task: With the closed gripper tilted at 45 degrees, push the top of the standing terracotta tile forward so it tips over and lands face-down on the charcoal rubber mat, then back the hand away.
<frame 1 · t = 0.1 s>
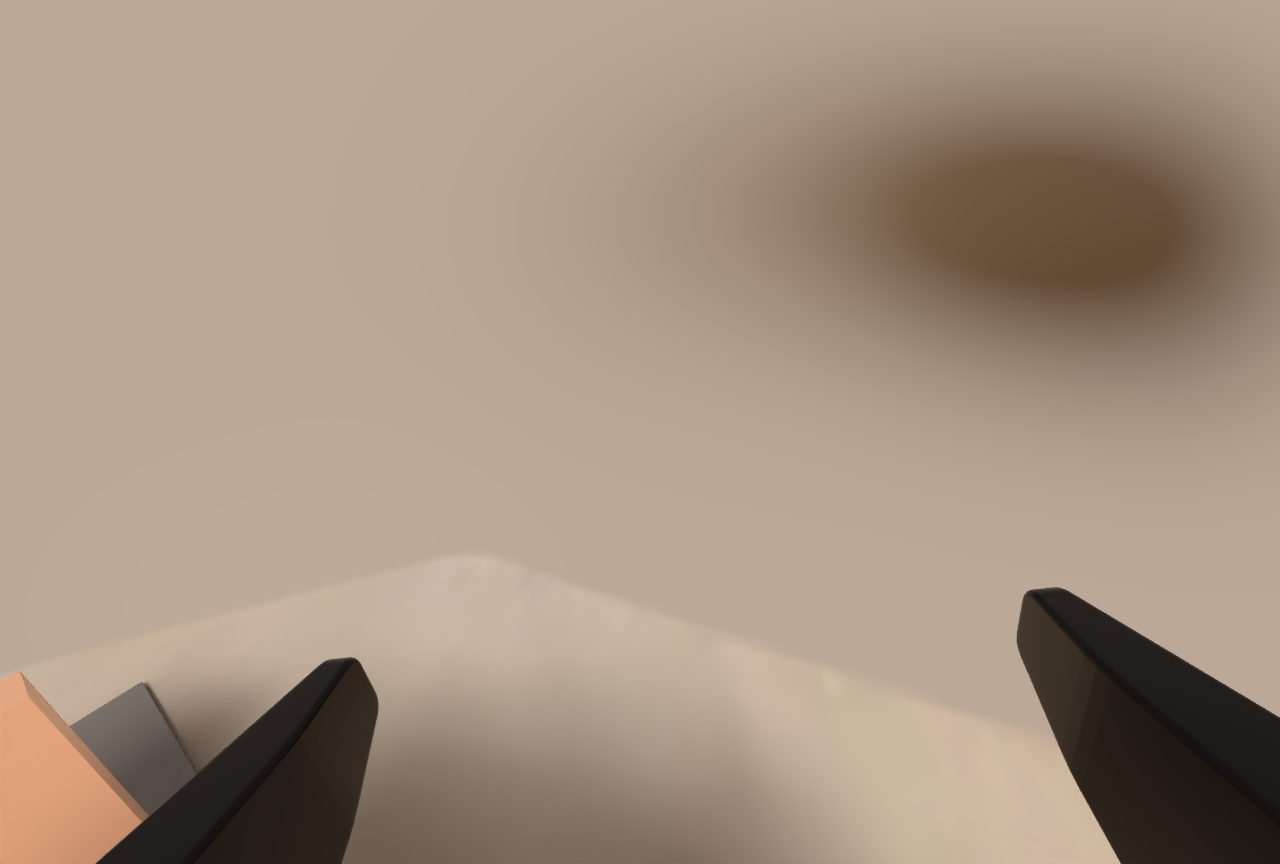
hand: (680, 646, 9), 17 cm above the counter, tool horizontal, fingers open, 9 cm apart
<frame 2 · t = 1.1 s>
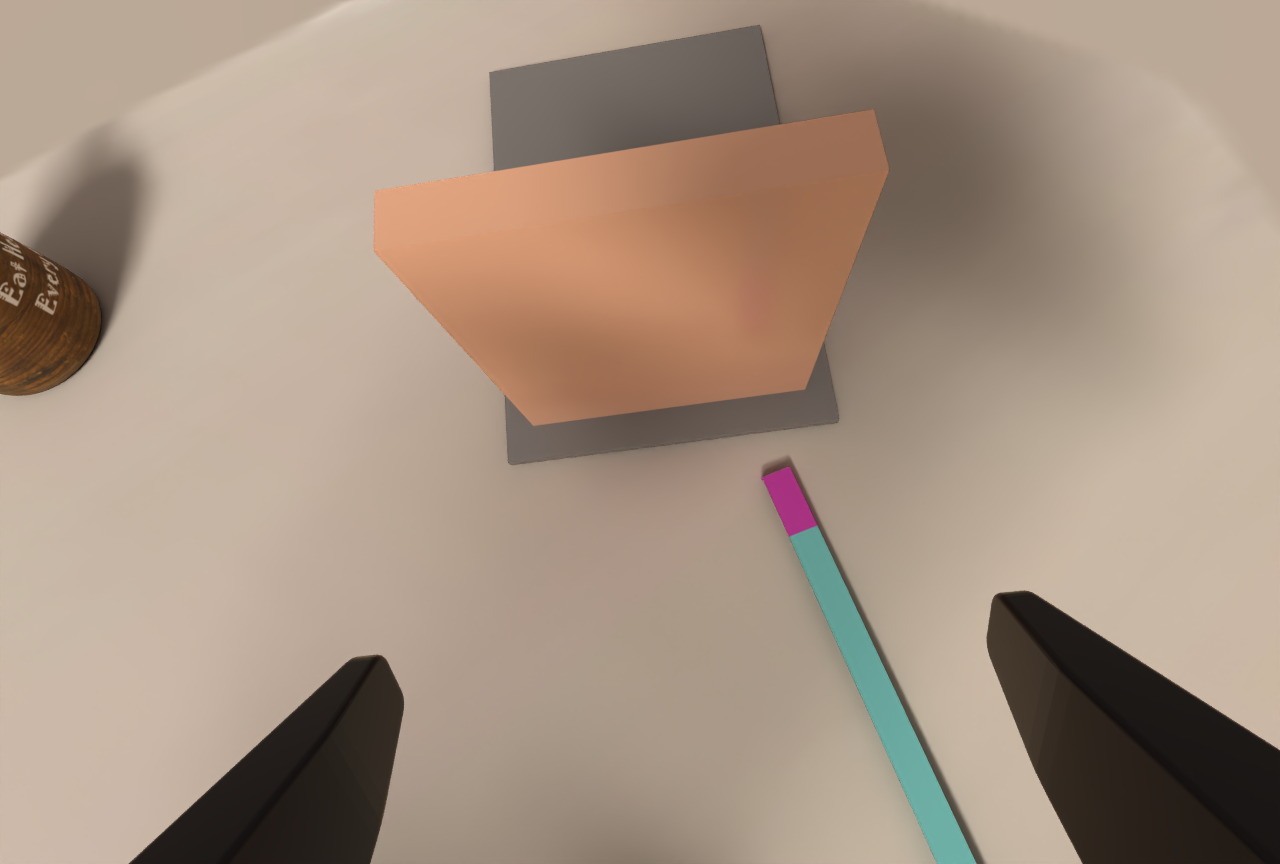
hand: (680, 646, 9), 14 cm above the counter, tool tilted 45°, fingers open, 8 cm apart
squeegee: (1105, 854, 20), on the counter
utensil holder: (47, 336, 29), on the counter
ceramic tile: (649, 317, 19), point 6 cm above the counter, touching rubber mat
rubber mat: (645, 231, 27), on the counter
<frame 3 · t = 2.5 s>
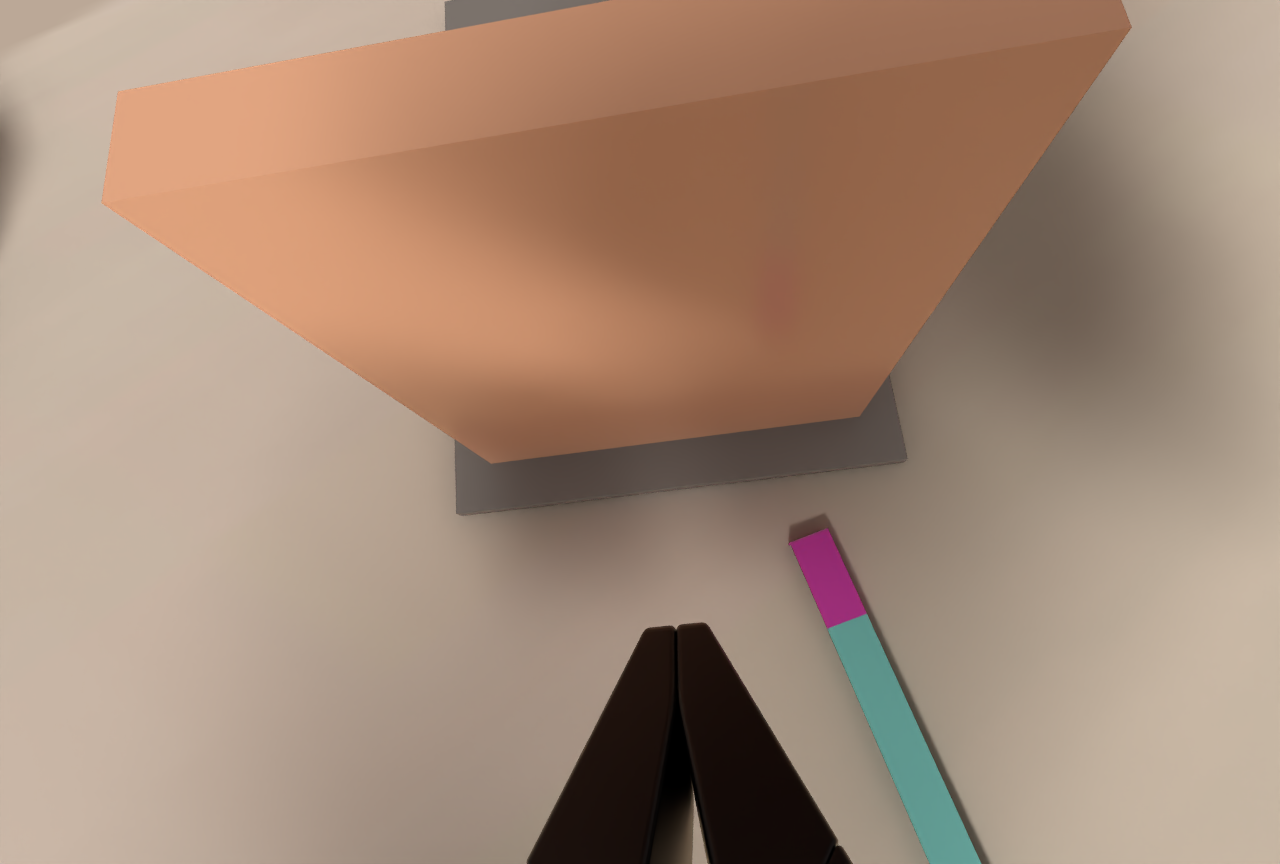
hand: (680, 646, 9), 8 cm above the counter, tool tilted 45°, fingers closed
ceramic tile: (643, 322, 12), point 6 cm above the counter, touching rubber mat
rubber mat: (642, 203, 20), on the counter
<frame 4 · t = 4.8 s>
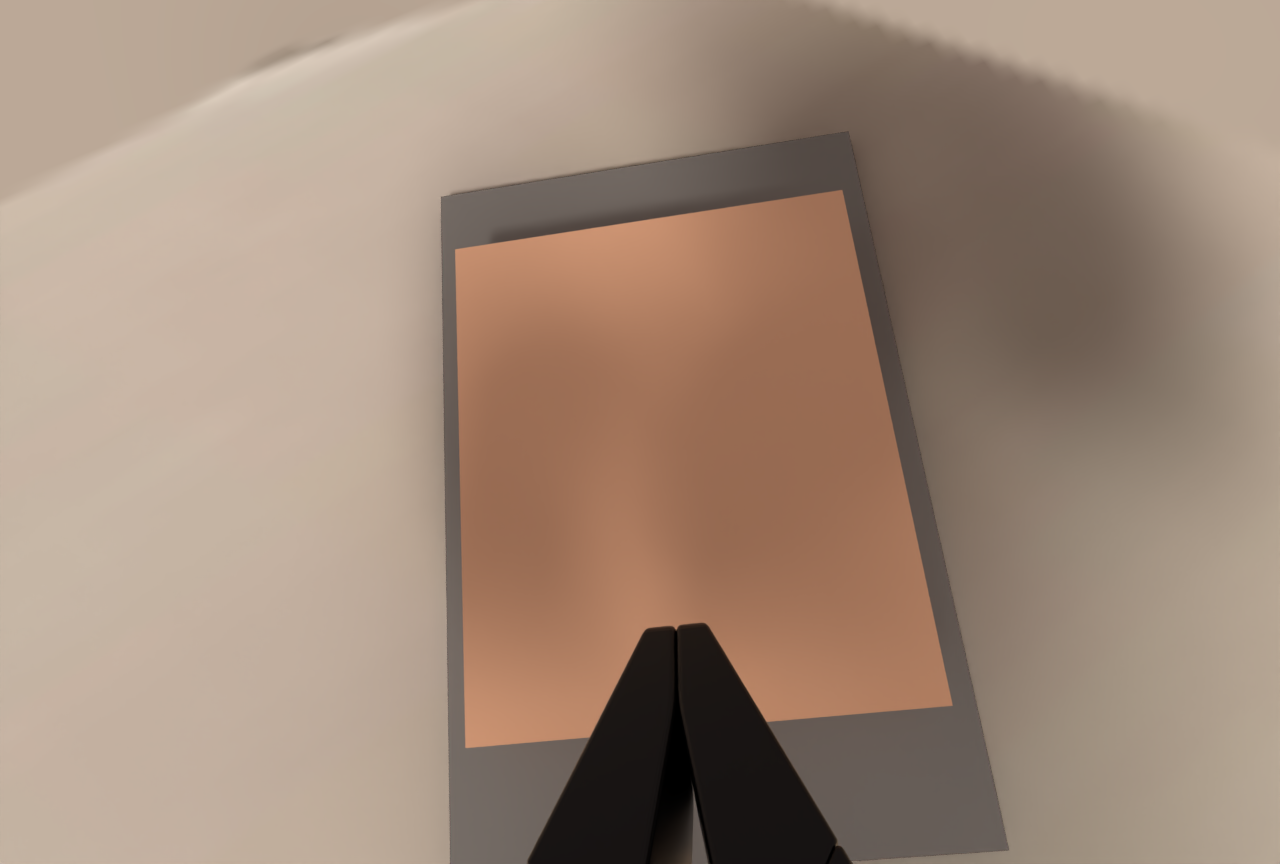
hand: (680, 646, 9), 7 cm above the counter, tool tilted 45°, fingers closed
ceramic tile: (671, 453, 16), point 1 cm above the counter, tilted 90°, touching rubber mat
rubber mat: (674, 467, 17), on the counter
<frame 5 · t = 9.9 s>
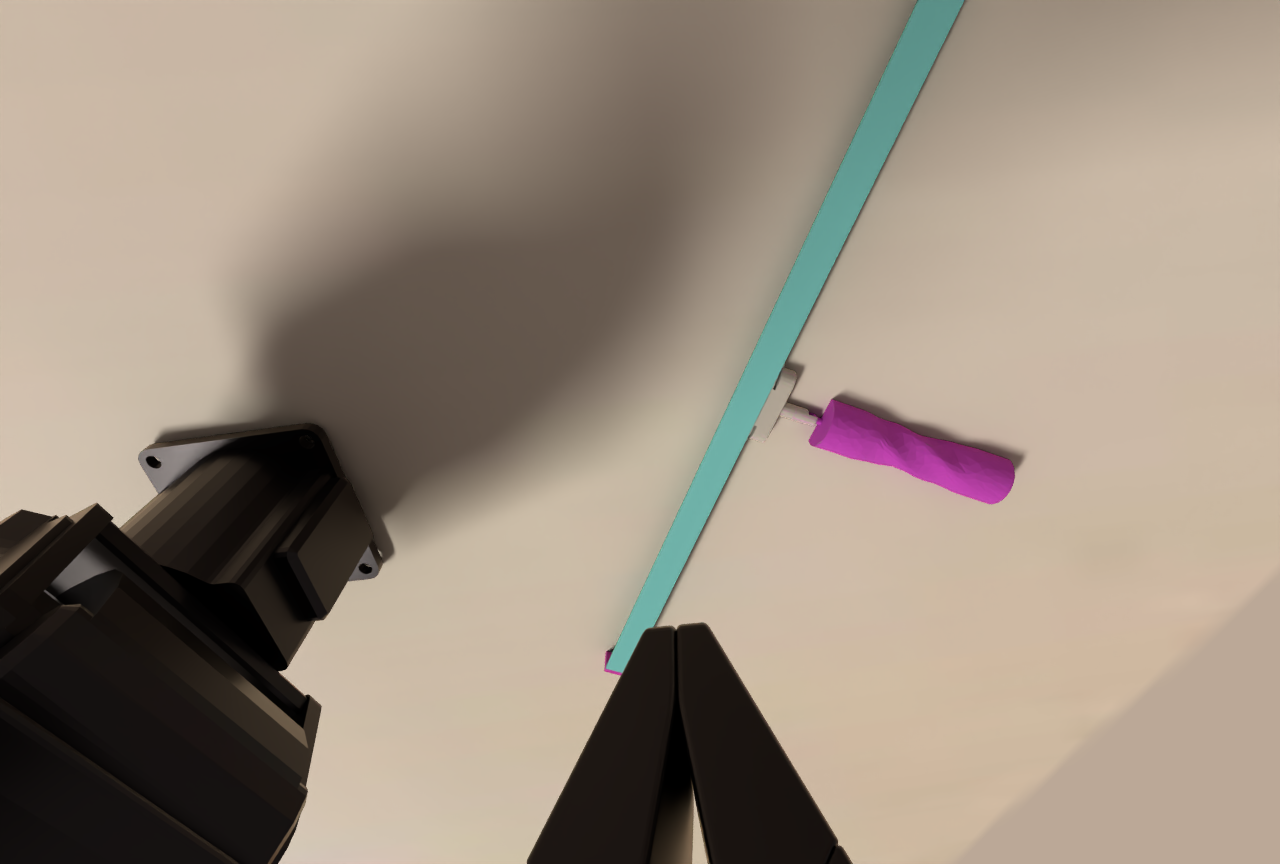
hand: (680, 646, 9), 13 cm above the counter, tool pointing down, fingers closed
squeegee: (879, 388, 22), on the counter
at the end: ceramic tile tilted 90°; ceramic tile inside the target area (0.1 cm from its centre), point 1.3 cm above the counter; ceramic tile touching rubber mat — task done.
